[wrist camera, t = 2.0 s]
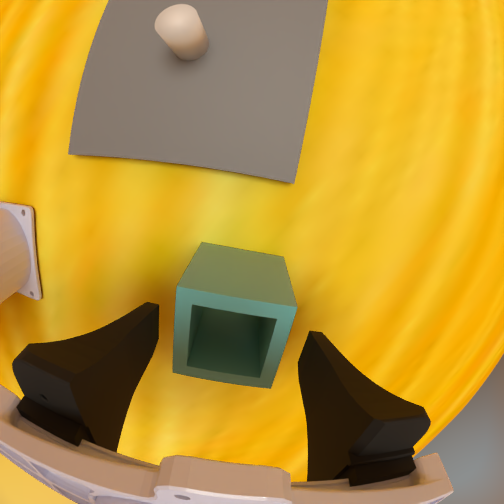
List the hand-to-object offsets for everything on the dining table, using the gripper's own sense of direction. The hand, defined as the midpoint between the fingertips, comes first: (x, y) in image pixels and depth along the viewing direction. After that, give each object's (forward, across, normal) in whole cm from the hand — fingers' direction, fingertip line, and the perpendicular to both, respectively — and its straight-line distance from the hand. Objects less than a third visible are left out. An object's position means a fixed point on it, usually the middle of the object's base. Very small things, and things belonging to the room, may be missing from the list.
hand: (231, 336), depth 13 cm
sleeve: (+5, 0, 0) cm, 5 cm away
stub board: (+5, +5, -14) cm, 16 cm away
